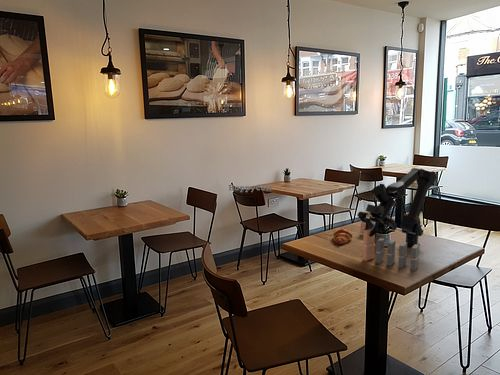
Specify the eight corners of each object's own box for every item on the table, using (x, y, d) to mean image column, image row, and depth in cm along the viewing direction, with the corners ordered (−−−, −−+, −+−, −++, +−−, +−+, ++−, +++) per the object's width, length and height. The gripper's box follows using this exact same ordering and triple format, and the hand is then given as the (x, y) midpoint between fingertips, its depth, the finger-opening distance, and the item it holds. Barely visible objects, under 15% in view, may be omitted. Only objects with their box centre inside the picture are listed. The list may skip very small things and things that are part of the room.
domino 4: (401, 263, 170) (402, 242, 169) (406, 264, 169) (407, 242, 168) (398, 267, 166) (399, 245, 165) (402, 268, 165) (403, 246, 163)
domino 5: (413, 266, 167) (414, 244, 166) (418, 267, 166) (419, 244, 165) (410, 270, 163) (411, 247, 162) (414, 271, 162) (416, 248, 160)
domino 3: (390, 261, 173) (391, 240, 172) (394, 262, 172) (395, 240, 170) (386, 265, 169) (387, 243, 168) (390, 265, 168) (391, 244, 166)
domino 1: (370, 257, 179) (371, 228, 176) (373, 258, 177) (374, 229, 175) (362, 260, 176) (363, 230, 174) (366, 261, 175) (366, 231, 172)
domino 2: (379, 259, 176) (380, 238, 175) (383, 260, 175) (384, 238, 173) (375, 262, 172) (376, 241, 170) (379, 263, 171) (380, 242, 169)
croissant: (339, 239, 217) (332, 227, 217) (355, 233, 213) (349, 220, 213) (334, 251, 197) (327, 237, 197) (352, 244, 193) (345, 229, 193)
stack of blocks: (371, 236, 209) (372, 215, 207) (360, 235, 213) (360, 213, 211) (383, 227, 226) (384, 207, 224) (373, 226, 230) (373, 205, 228)
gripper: (360, 194, 182) (343, 220, 178) (394, 201, 166) (376, 230, 162) (371, 208, 187) (354, 234, 183) (404, 216, 172) (387, 244, 168)
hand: (367, 235), depth 174 cm, fingers open, 3 cm apart
